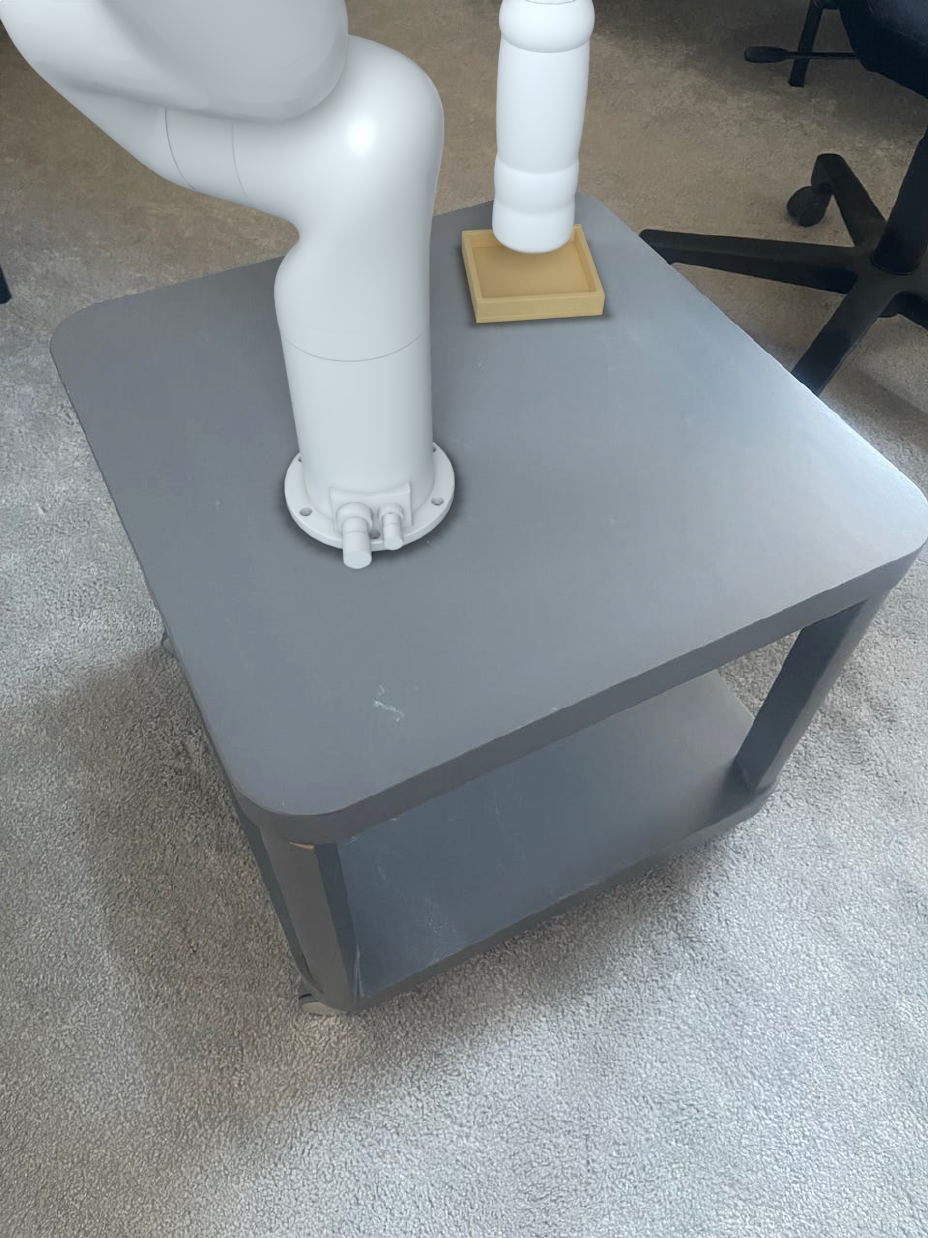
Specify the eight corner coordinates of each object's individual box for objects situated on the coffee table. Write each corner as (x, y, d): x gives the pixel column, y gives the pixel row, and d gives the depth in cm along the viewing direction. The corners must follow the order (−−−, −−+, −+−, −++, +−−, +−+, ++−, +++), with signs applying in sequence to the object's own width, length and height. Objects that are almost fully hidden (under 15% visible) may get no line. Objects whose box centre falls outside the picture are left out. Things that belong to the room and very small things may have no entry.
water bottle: (482, 249, 87) (490, -91, 67) (504, 206, 91) (517, -125, 71) (561, 263, 85) (594, -78, 66) (580, 220, 90) (616, -114, 70)
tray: (602, 315, 89) (605, 294, 87) (476, 323, 88) (476, 302, 86) (579, 243, 96) (581, 223, 94) (461, 250, 95) (461, 230, 93)
